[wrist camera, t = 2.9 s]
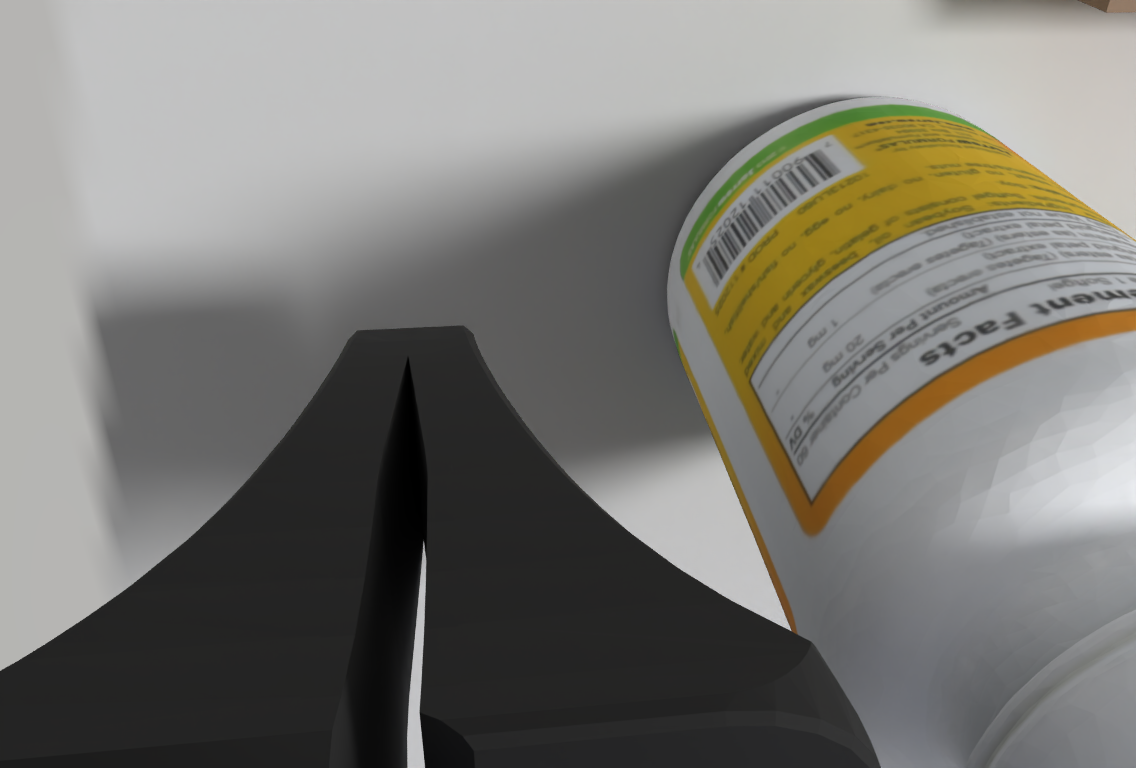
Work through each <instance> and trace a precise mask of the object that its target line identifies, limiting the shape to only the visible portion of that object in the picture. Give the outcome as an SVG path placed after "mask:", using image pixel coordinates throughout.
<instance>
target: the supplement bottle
mask: <svg viewBox="0 0 1136 768" xmlns="http://www.w3.org/2000/svg"><path fill="white" fill-rule="evenodd" d="M667 304H668V315H669V321H670V327H671V330H672V334H673V338H674V341H675V344H676V347H677V350H678V353H679V356H680V359H681V362H682V364H683V367H684V369H685V371H686V374H687V376H688V379H689V381H690V383H691V386H692V388H693V390H694V392H695V395H696V397H697V400H698V402H699V405H700V407H701V409H702V412H703V414H704V417H705V419H706V421H707V424H708V426H709V428H710V431H711V433H712V436H713V438H714V441H715V443H716V445H717V448H718V450H719V453H720V455H721V458H722V460H723V462H724V465H725V467H726V470H727V472H728V475H729V477H730V480H731V482H732V485H733V487H734V489H735V492H736V494H737V497H738V499H739V501H740V504H741V506H742V509H743V511H744V514H745V516H746V518H747V521H748V523H749V526H750V528H751V530H752V533H753V535H754V538H755V540H756V543H757V545H758V548H759V550H760V553H761V555H762V558H763V560H764V563H765V565H766V568H767V570H768V573H769V575H770V578H771V580H772V583H773V585H774V588H775V590H776V593H777V595H778V598H779V600H780V603H781V605H782V608H783V610H784V613H785V616H786V618H787V621H788V623H789V625H790V628H791V630H792V632H794V633H796V634H797V635H799V636H801V637H803V638H805V639H807V640H809V641H811V642H812V643H813V644H814V645H815V646H816V648H817V649H818V651H819V652H820V654H821V656H822V657H823V659H824V660H825V662H826V663H827V665H828V667H829V668H830V670H831V671H832V673H833V675H834V676H835V678H836V679H837V681H838V683H839V684H840V686H841V687H842V689H843V691H844V692H845V694H846V696H847V697H848V699H849V701H850V702H851V704H852V706H853V707H854V709H855V711H856V712H857V714H858V716H859V718H860V720H861V722H862V724H863V726H864V728H865V730H866V732H867V734H868V736H869V738H870V740H871V743H872V745H873V748H874V750H875V753H876V755H877V758H878V761H879V763H880V766H881V768H1136V240H1134V239H1133V238H1132V237H1130V236H1129V235H1127V234H1126V233H1125V232H1123V231H1122V230H1121V229H1119V228H1118V227H1116V226H1115V225H1114V224H1112V223H1111V222H1109V221H1108V220H1107V219H1105V218H1104V217H1102V216H1101V215H1100V214H1098V213H1097V212H1095V211H1094V210H1093V209H1091V208H1090V207H1088V206H1087V205H1086V204H1084V203H1083V202H1081V201H1080V200H1079V199H1077V198H1076V197H1075V196H1073V195H1072V194H1071V193H1069V192H1068V191H1067V190H1065V189H1064V188H1062V187H1061V186H1060V185H1058V184H1057V183H1056V182H1054V181H1053V180H1052V179H1050V178H1049V177H1048V176H1046V175H1045V174H1044V173H1042V172H1041V171H1040V170H1038V169H1037V168H1035V167H1034V166H1033V165H1031V164H1030V163H1029V162H1027V161H1026V160H1024V159H1023V158H1022V157H1020V156H1019V155H1018V154H1016V153H1015V152H1014V151H1012V150H1011V149H1010V148H1008V147H1007V146H1005V145H1004V144H1003V143H1001V142H1000V141H999V140H997V139H996V138H995V137H993V136H991V135H990V134H988V133H987V132H985V131H984V130H982V129H981V128H979V127H978V126H976V125H974V124H973V123H971V122H969V121H968V120H966V119H964V118H962V117H961V116H959V115H957V114H955V113H952V112H950V111H948V110H946V109H943V108H940V107H938V106H934V105H931V104H927V103H924V102H920V101H914V100H908V99H902V98H892V97H866V98H856V99H850V100H845V101H839V102H835V103H831V104H827V105H824V106H821V107H818V108H815V109H812V110H810V111H807V112H805V113H802V114H800V115H798V116H795V117H793V118H791V119H789V120H787V121H785V122H783V123H781V124H780V125H778V126H776V127H774V128H772V129H771V130H769V131H768V132H766V133H765V134H763V135H761V136H760V137H758V138H757V139H755V140H754V141H752V142H751V143H750V144H749V145H747V146H746V147H745V148H743V149H742V150H741V151H740V152H738V153H737V154H736V155H735V156H734V157H733V158H732V159H731V160H729V161H728V162H727V164H726V165H725V166H724V167H723V168H722V169H721V170H720V171H719V172H718V173H717V174H716V175H715V176H714V178H713V179H712V180H711V181H710V182H709V184H708V185H707V187H706V188H705V189H704V191H703V192H702V193H701V195H700V196H699V197H698V199H697V200H696V202H695V204H694V205H693V207H692V209H691V210H690V212H689V214H688V215H687V217H686V219H685V222H684V224H683V226H682V228H681V231H680V233H679V235H678V238H677V241H676V244H675V247H674V250H673V254H672V258H671V263H670V268H669V275H668V283H667Z"/></svg>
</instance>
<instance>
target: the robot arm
mask: <svg viewBox="0 0 1136 768" xmlns="http://www.w3.org/2000/svg"><path fill="white" fill-rule="evenodd" d="M423 541H424V545H425V552H426V560H427V561H426V596H425V626H424V646H423V665H422V684H421V699H420V721H421V731H422V741H423V751H424V760H425V768H881V766H880V763H879V761H878V758H877V755H876V753H875V750H874V748H873V745H872V743H871V740H870V738H869V736H868V734H867V732H866V730H865V728H864V726H863V724H862V722H861V720H860V718H859V716H858V714H857V712H856V711H855V709H854V707H853V706H852V704H851V702H850V701H849V699H848V697H847V696H846V694H845V692H844V691H843V689H842V687H841V686H840V684H839V683H838V681H837V679H836V678H835V676H834V675H833V673H832V671H831V670H830V668H829V667H828V665H827V663H826V662H825V660H824V659H823V657H822V656H821V654H820V652H819V651H818V649H817V648H816V646H815V645H814V644H813V643H812V642H811V641H809V640H807V639H805V638H803V637H801V636H799V635H797V634H796V633H794V632H792V631H790V630H788V629H786V628H784V627H782V626H780V625H778V624H776V623H774V622H772V621H770V620H768V619H766V618H764V617H762V616H760V615H758V614H756V613H754V612H752V611H750V610H748V609H746V608H744V607H742V606H741V605H739V604H737V603H735V602H733V601H731V600H729V599H727V598H726V597H724V596H722V595H721V594H719V593H717V592H716V591H714V590H713V589H711V588H709V587H708V586H706V585H704V584H703V583H701V582H700V581H698V580H696V579H695V578H693V577H691V576H690V575H688V574H687V573H685V572H683V571H682V570H680V569H679V568H677V567H676V566H674V565H673V564H672V563H670V562H669V561H668V560H666V559H665V558H663V557H662V556H661V555H659V554H658V553H657V552H655V551H654V550H653V549H651V548H650V547H649V546H647V545H646V544H645V543H643V542H642V541H641V540H639V539H638V538H637V537H635V536H634V535H632V534H631V533H630V532H628V531H627V530H626V529H625V528H624V527H623V526H622V525H620V524H619V523H618V522H617V521H616V520H615V519H614V518H612V517H611V516H610V515H609V514H608V513H607V512H605V511H604V510H603V509H602V508H601V507H600V506H599V505H598V504H597V503H596V502H595V501H594V500H593V499H592V498H591V497H589V496H588V495H587V494H586V493H585V492H584V491H583V490H582V489H581V488H580V487H579V486H578V485H577V484H576V483H575V482H574V481H573V480H572V479H571V478H570V477H569V475H568V474H567V473H566V472H565V471H564V470H563V469H562V468H561V467H560V466H559V465H558V463H557V462H556V461H555V460H554V459H553V458H552V456H551V455H550V454H549V453H548V452H547V451H546V449H545V448H544V447H543V446H542V445H541V443H540V442H539V441H538V440H537V439H536V437H535V436H534V435H533V433H532V432H531V431H530V430H529V428H528V427H527V426H526V424H525V423H524V422H523V420H522V419H521V417H520V416H519V415H518V413H517V412H516V410H515V409H514V408H513V406H512V405H511V403H510V402H509V400H508V399H507V398H506V396H505V395H504V393H503V392H502V390H501V389H500V387H499V385H498V384H497V382H496V381H495V379H494V377H493V375H492V374H491V372H490V370H489V369H488V367H487V365H486V363H485V361H484V359H483V357H482V355H481V353H480V351H479V349H478V347H477V344H476V342H475V339H474V335H473V333H471V332H470V331H469V330H468V329H467V328H466V327H465V326H444V327H423V328H402V329H381V330H360V331H357V332H356V333H355V334H354V335H353V336H352V337H351V338H350V339H349V340H348V342H347V343H346V345H345V347H344V349H343V351H342V353H341V354H340V356H339V358H338V360H337V361H336V363H335V365H334V366H333V368H332V369H331V371H330V373H329V374H328V376H327V377H326V379H325V380H324V382H323V383H322V385H321V386H320V388H319V390H318V391H317V393H316V394H315V395H314V397H313V398H312V400H311V401H310V402H309V404H308V405H307V407H306V408H305V409H304V411H303V412H302V413H301V415H300V416H299V418H298V419H297V420H296V422H295V423H294V425H293V426H292V427H291V429H290V430H289V431H288V433H287V434H286V435H285V436H284V438H283V439H282V440H281V441H280V443H279V444H278V445H277V446H276V447H275V448H274V450H273V451H272V452H271V453H270V454H269V456H268V457H267V458H266V459H265V460H264V462H263V463H262V464H261V465H260V466H259V468H258V469H257V470H256V471H255V472H254V474H253V475H252V476H251V477H250V478H249V479H248V480H247V481H246V483H245V484H244V485H243V486H242V487H241V488H240V489H239V490H238V491H237V492H236V493H235V494H234V495H233V497H232V498H231V499H230V500H229V501H228V502H227V503H226V504H225V505H224V506H223V507H222V508H221V509H220V510H219V511H218V512H217V513H216V514H215V515H214V516H213V517H211V518H210V519H209V520H208V521H207V522H206V523H205V524H204V525H203V526H202V527H201V528H200V529H199V530H198V531H197V532H196V533H195V534H194V535H193V536H191V537H190V538H189V539H188V540H187V541H186V542H184V543H183V544H182V545H181V546H179V547H178V548H177V549H176V550H174V551H173V552H172V553H171V554H170V555H168V556H167V557H166V558H165V559H163V560H162V561H161V562H160V563H158V564H157V565H156V566H155V567H153V568H152V569H151V570H150V571H148V572H147V573H146V574H145V575H143V576H142V577H141V578H140V579H139V580H137V581H136V582H135V583H134V584H132V585H131V586H130V587H128V588H127V589H126V590H124V591H123V592H122V593H120V594H119V595H117V596H116V597H115V598H113V599H112V600H110V601H109V602H107V603H106V604H105V605H103V606H102V607H101V608H99V609H98V610H96V611H95V612H93V613H92V614H90V615H89V616H88V617H86V618H85V619H83V620H82V621H80V622H79V623H77V624H75V625H74V626H73V627H71V628H69V629H68V630H66V631H65V632H63V633H62V634H60V635H59V636H57V637H56V638H54V639H53V640H51V641H49V642H48V643H46V644H45V645H43V646H42V647H40V648H38V649H37V650H35V651H33V652H32V653H30V654H29V655H27V656H25V657H24V658H22V659H20V660H19V661H17V662H15V663H14V664H12V665H10V666H8V667H6V668H5V669H3V670H1V671H0V768H407V727H408V706H409V692H410V681H411V671H412V660H413V650H414V639H415V628H416V618H417V607H418V597H419V586H420V575H421V564H422V553H423Z"/></svg>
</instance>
